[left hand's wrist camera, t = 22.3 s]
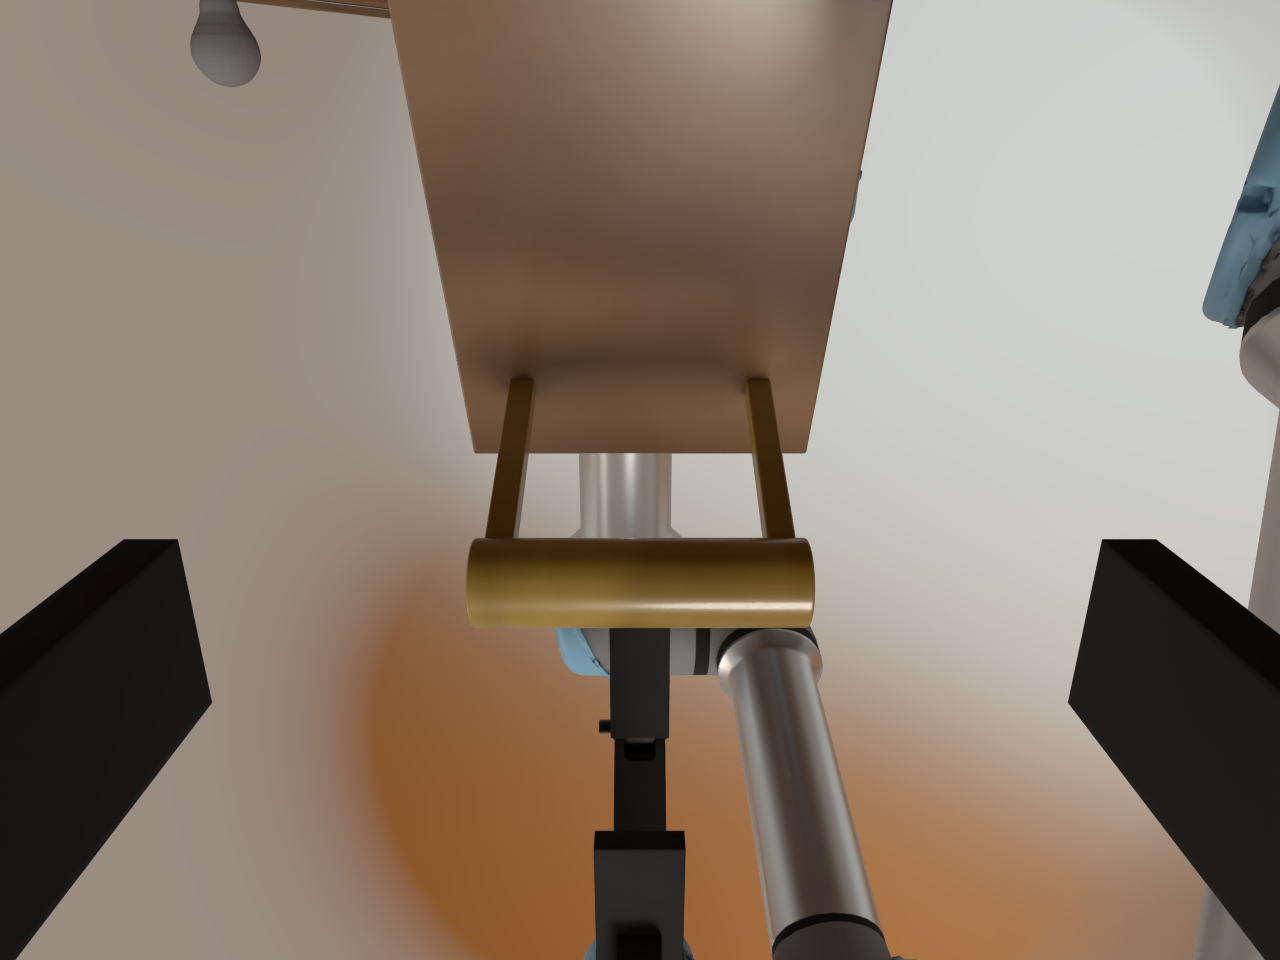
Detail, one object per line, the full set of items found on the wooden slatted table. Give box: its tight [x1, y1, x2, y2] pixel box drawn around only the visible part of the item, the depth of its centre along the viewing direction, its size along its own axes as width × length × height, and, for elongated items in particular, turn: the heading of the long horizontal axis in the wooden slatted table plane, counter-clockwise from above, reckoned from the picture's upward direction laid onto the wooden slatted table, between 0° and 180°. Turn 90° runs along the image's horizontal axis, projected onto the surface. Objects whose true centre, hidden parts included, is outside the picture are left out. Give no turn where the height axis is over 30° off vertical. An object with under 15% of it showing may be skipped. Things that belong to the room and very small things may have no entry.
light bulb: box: [190, 0, 261, 87], centre depth 82 cm, size 6×6×10 cm
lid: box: [388, 0, 893, 628], centre depth 20 cm, size 14×10×9 cm
